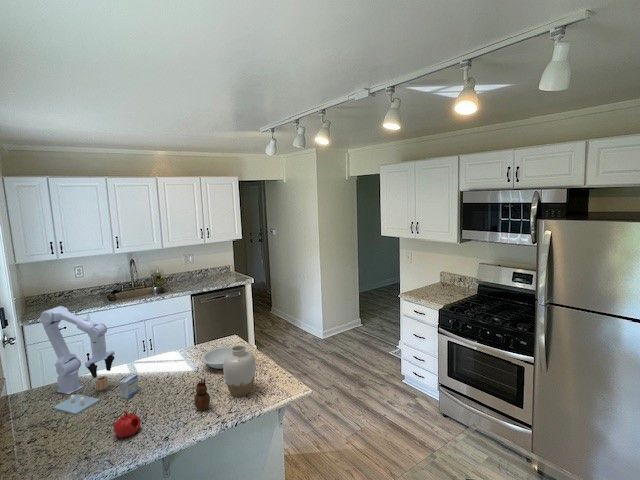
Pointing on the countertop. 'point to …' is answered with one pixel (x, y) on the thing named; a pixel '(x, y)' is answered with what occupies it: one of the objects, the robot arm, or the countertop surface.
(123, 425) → the pomegranate
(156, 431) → the countertop surface
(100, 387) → the sleeve
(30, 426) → the countertop surface
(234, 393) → the vase
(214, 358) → the soup bowl
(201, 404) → the wooden figurine
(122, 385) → the medicine box
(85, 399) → the pin board
